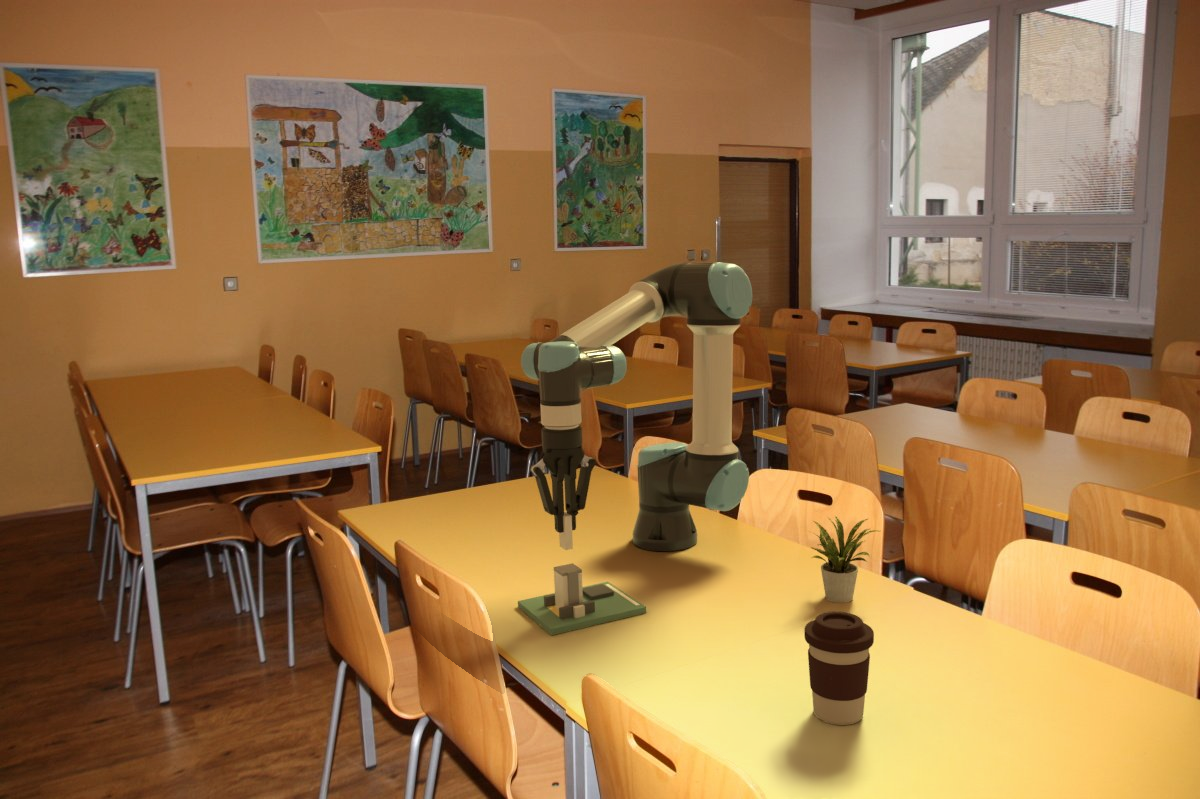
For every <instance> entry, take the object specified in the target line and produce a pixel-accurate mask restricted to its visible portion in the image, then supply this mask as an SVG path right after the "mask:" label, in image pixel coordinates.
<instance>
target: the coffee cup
mask: <svg viewBox="0 0 1200 799" xmlns="http://www.w3.org/2000/svg"><path fill="white" fill-rule="evenodd" d="M803 632H804V640H805V641H806V643H807V644H808V649H807V655H808V658H807V660H808V670H809V671H808V672H809V674H808V675H809V684H810V689H811V691H812V692H811V693H812V694H811V695H812V707H813V714H814V715H815V716H816V717H817V719H819V720H821V721H822V722H825V723H826V724H827V723H828V724H832V725H836V726H849V725H853V724H855V723H858V722H859V721H861V720H862V718H863V716H864V712H865V698H866V693H867V690H868V685H869V684H868V682H869V671H870V660H871V659H870V658H871V654H870V648H871V647H872V646H873V645H874V640H875V634H874V633H875V632H874V630H873V628H872V626H870V625H868V624H867V623H865V622H864V620H863V619H862V618H861V617H860V616H858V615H856V614H853V613H850V612H847V611H846V612H845V611H838V610H836V611H835V610H834V611H833V610H832V611H826V612H822V613H819V614H818V615H817V616H816V617H815V619H814V620H813V619H812V620H811V621H809V622H808V623H806V624H805V626H804V631H803Z"/></svg>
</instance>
